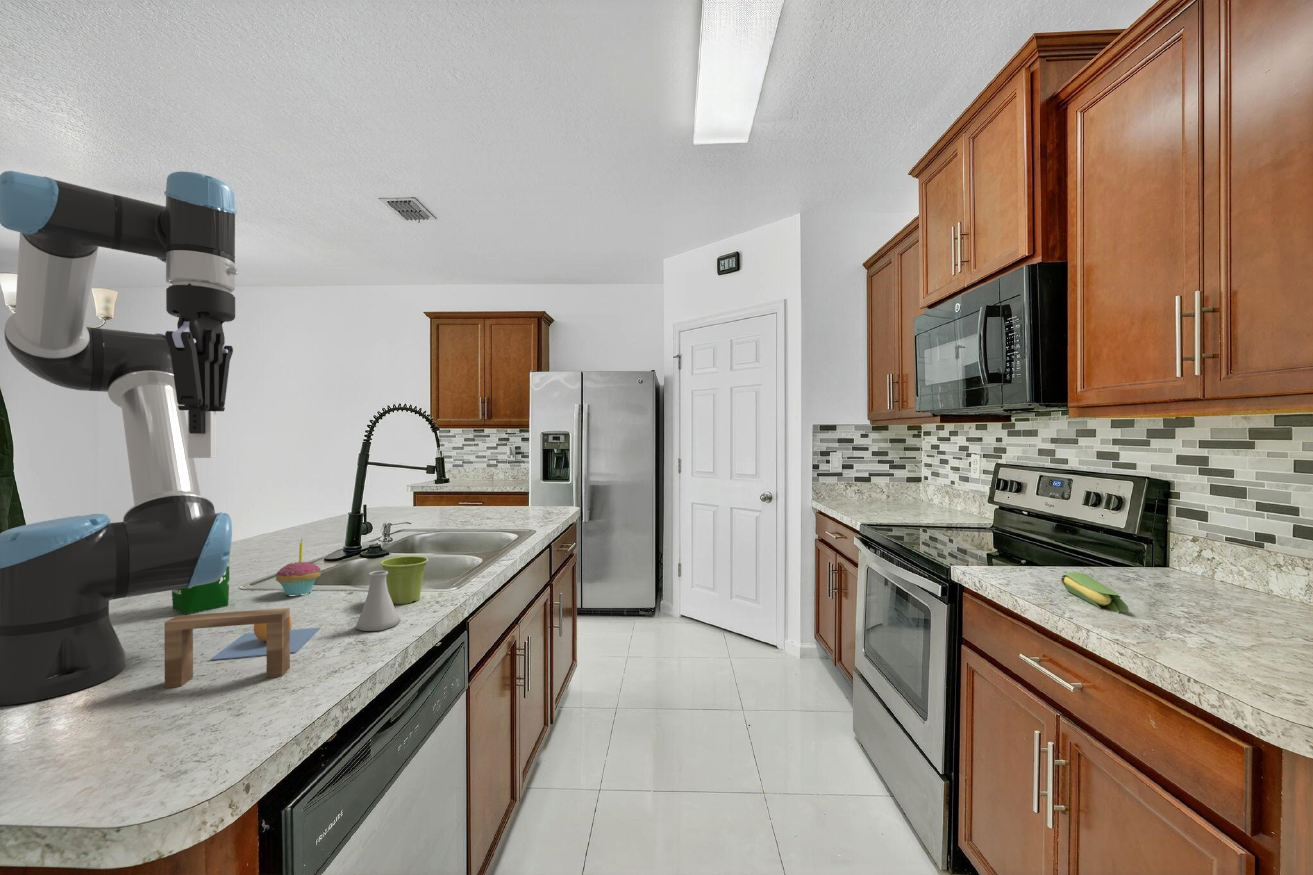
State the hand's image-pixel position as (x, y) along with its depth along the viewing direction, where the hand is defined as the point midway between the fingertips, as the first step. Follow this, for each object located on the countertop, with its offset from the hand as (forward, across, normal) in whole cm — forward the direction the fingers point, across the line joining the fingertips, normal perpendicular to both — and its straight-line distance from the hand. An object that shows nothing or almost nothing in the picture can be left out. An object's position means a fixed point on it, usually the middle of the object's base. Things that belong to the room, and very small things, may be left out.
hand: (202, 457), depth 78 cm
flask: (+33, +22, -18) cm, 43 cm away
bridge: (+32, +3, -2) cm, 33 cm away
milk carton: (+33, +44, +20) cm, 58 cm away
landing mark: (+32, +17, -2) cm, 37 cm away
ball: (+30, +18, -2) cm, 35 cm away
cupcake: (+33, +50, +4) cm, 60 cm away
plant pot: (+33, +38, -20) cm, 54 cm away
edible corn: (+33, -1, -162) cm, 165 cm away
